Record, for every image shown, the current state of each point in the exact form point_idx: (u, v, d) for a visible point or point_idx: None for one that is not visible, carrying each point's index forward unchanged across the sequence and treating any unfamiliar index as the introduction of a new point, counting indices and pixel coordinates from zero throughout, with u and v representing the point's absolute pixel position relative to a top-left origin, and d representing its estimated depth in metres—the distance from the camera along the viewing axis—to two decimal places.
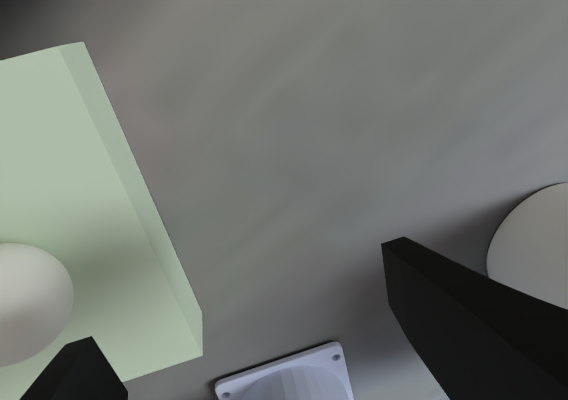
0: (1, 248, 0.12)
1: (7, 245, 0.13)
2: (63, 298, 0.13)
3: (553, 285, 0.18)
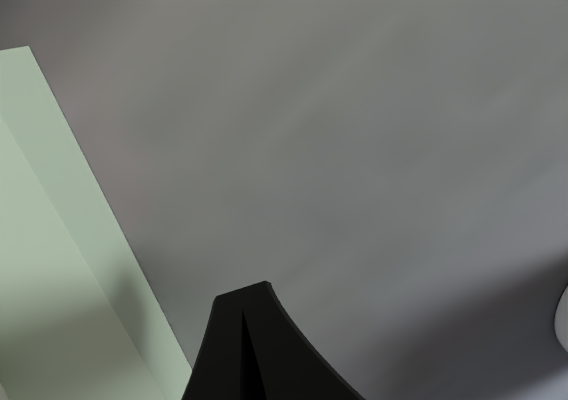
0: None
1: None
2: None
3: None
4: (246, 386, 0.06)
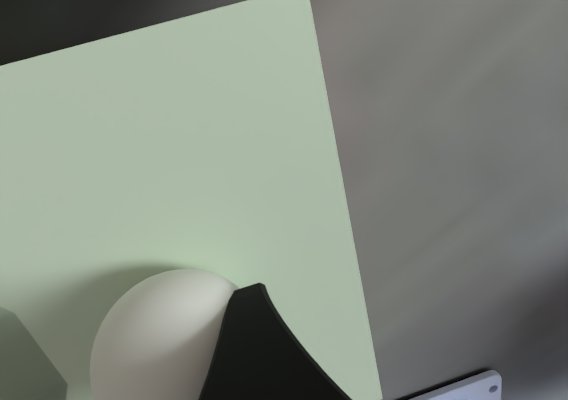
0: (190, 282, 0.08)
1: (196, 277, 0.09)
2: None
3: None
4: None
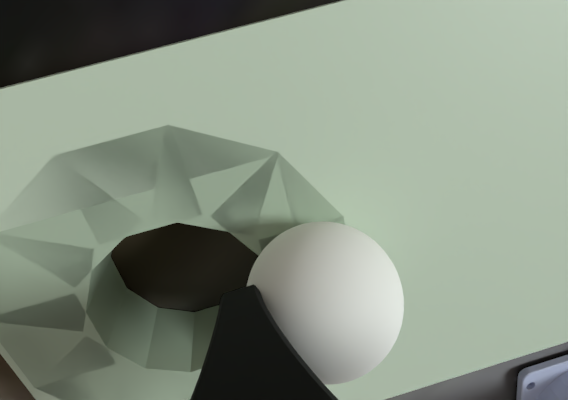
0: (303, 262, 0.08)
1: (305, 274, 0.08)
2: None
3: None
4: None
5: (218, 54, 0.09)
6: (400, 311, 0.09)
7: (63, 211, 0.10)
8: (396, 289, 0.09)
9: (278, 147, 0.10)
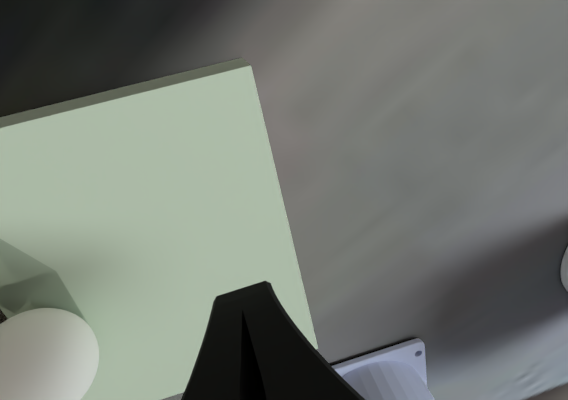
0: None
1: None
2: None
3: None
4: (246, 386, 0.06)
5: None
6: (50, 368, 0.13)
7: None
8: (37, 358, 0.13)
9: None
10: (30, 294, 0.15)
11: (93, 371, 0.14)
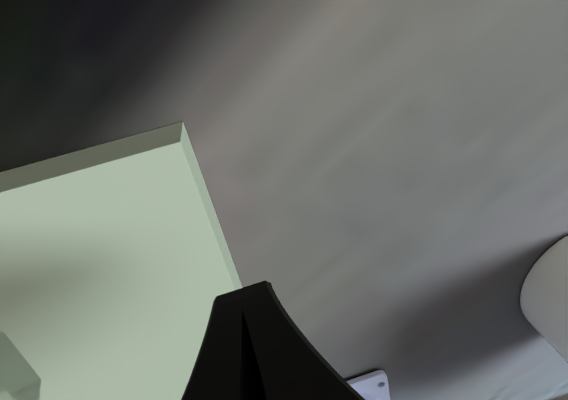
0: None
1: None
2: None
3: None
4: (246, 386, 0.06)
5: None
6: None
7: None
8: None
9: None
10: None
11: None
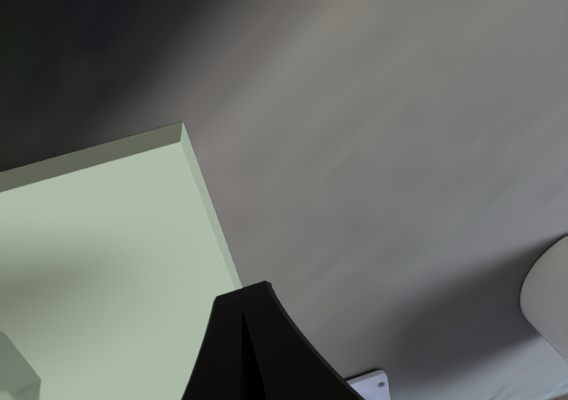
0: None
1: None
2: None
3: None
4: (246, 386, 0.06)
5: None
6: None
7: None
8: None
9: None
10: None
11: None
